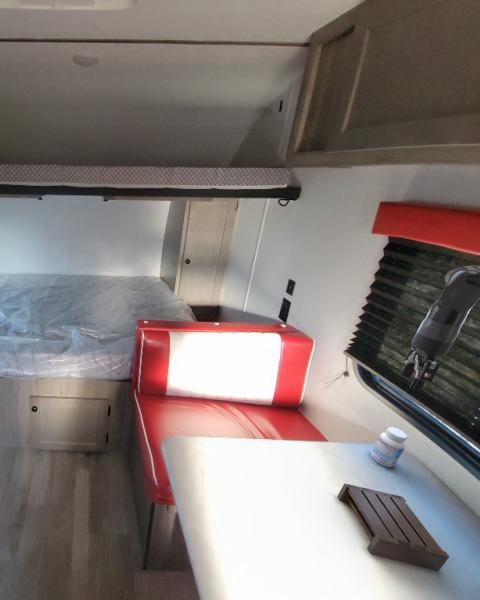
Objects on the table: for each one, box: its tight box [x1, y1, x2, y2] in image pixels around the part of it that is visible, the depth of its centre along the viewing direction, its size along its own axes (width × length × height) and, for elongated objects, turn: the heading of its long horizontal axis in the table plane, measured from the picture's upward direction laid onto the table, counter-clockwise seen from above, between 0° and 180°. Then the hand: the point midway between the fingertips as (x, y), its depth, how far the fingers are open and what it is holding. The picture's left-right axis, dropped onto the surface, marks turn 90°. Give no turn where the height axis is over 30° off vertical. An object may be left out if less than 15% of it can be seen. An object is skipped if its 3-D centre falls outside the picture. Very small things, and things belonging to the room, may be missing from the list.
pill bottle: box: [370, 426, 408, 468], centre depth 103 cm, size 6×6×11 cm
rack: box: [337, 483, 450, 572], centre depth 82 cm, size 14×15×5 cm
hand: (409, 382), depth 100 cm, fingers open, 8 cm apart
